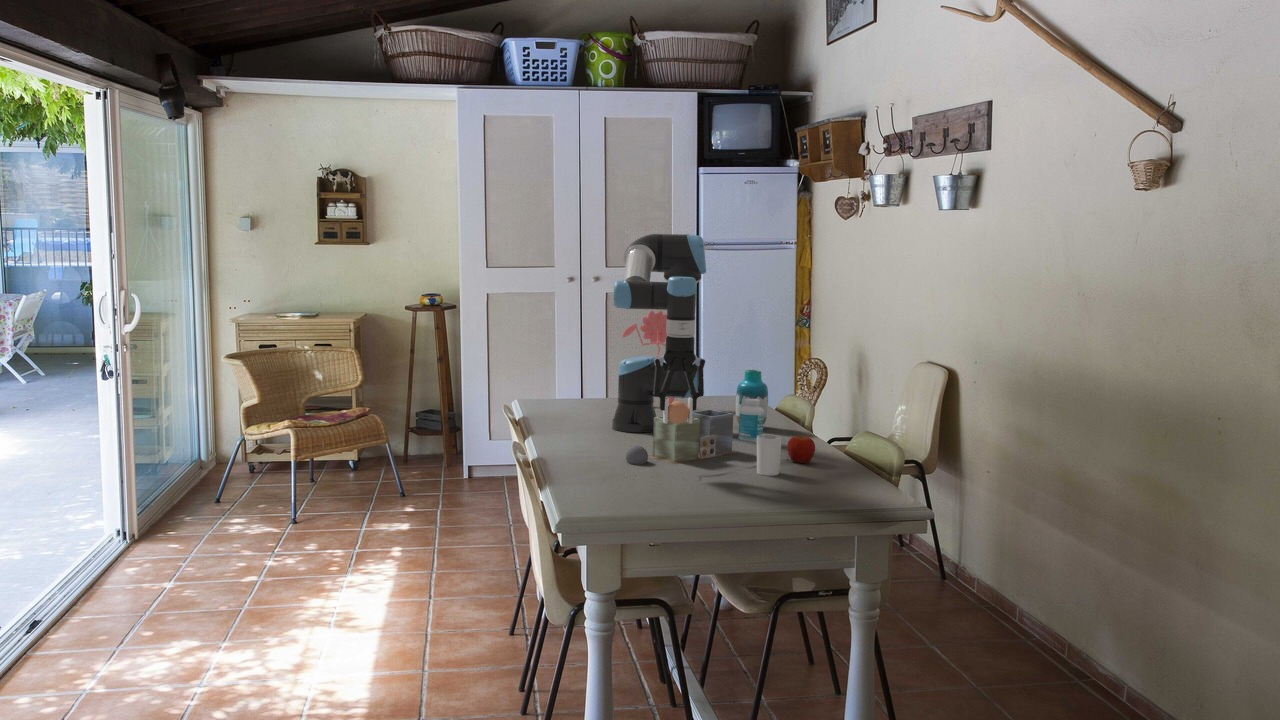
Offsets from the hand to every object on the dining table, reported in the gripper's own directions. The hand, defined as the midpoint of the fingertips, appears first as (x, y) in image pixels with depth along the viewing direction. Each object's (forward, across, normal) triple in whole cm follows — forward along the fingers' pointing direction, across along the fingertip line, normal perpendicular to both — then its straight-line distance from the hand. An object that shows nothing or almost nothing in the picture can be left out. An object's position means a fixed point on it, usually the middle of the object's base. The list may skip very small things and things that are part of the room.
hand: (677, 422), depth 270 cm
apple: (+14, +38, +11) cm, 42 cm away
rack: (+14, +8, +16) cm, 22 cm away
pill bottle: (+14, +30, +38) cm, 50 cm away
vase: (+14, +36, +62) cm, 73 cm away
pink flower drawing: (+14, +11, +108) cm, 109 cm away
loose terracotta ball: (0, 0, 0) cm, 0 cm away
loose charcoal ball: (+14, -10, +6) cm, 18 cm away
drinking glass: (+14, +25, -2) cm, 28 cm away
